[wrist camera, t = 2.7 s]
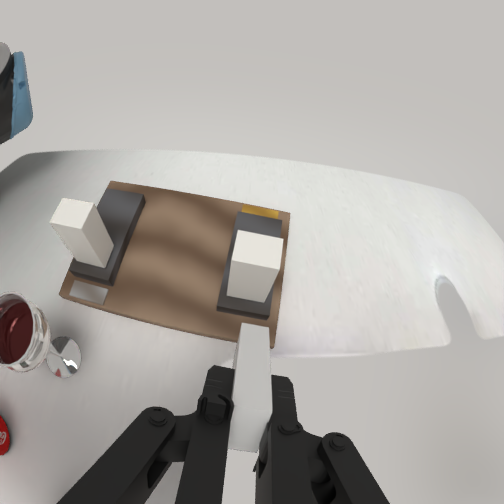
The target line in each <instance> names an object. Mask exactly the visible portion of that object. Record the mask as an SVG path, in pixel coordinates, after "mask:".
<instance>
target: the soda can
mask: <svg viewBox="0 0 504 504" xmlns="http://www.w3.org/2000/svg"><path fill="white" fill-rule="evenodd" d="M9 444H10V439H9V432H8V429H7V426H6V423H5V422H4V420H3V419H2V417H1V416H0V455H4V454H5V453H6V452H7V451H8V448H9Z"/></svg>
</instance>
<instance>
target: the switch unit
mask: <svg viewBox="0 0 504 504" xmlns="http://www.w3.org/2000/svg"><path fill="white" fill-rule="evenodd" d="M97 211H98V213H99V215H100V217H101V219H102V221H103V224H104V226H105V228H106V230H107V232H108V234H109V236H110V238H111V240H112V242H113V244H114V247H113V249H112V252H111V254H110V257H109V260H108V262H107V265H106V267H105V268H102V267H98V266H94V265H90V264H86V263H83V262H79V261H76V259H75V258H74V257H73V260H72V262H71V264H70V267H69V269H68V272H67V274H66V277H65V279H64V282H63V285H62V287H61V290H60V293H59V295H60V296H61V297H62V298H64V299H67V300H70V301H74V302H77V303H80V304H83V305H86V306H89V307H93V308H96V309H99V310H103V311H106V312H110V313H113V314H116V315H120V316H124V317H127V318H131V319H135V320H138V321H142V322H146V323H150V324H154V325H158V326H162V327H166V328H170V329H175V330H179V331H183V332H188V333H192V334H197V335H201V336H206V337H211V338H216V339H221V340H226V341H231V342H236V343H238V338H239V333H240V329H241V324H242V323H247V324H252V325H258V326H263V327H269V340H270V349H272V348H273V347H274V344H275V336H276V329H277V322H278V314H279V306H280V299H281V291H282V282H283V274H284V266H285V257H286V248H287V240H288V230H289V221H290V213H288V212H283V211H279V210H274V209H269V208H264V207H259V206H254V205H249V204H244V203H239V202H234V201H229V200H223V199H218V198H213V197H207V196H202V195H196V194H190V193H185V192H179V191H173V190H167V189H161V188H155V187H149V186H142V185H136V184H129V183H123V182H116V181H110V183H109V185H108V187H107V189H106V190H105V192H104V194H103V196H102V198H101V200H100V202H99V204H98V206H97ZM238 230H242V231H247V232H252V233H257V234H262V235H267V236H272V237H276V238H281V239H283V247H282V256H281V264H280V270H279V272H278V274H277V277H276V279H275V281H274V283H273V285H272V287H271V289H270V292H269V294H268V296H267V298H266V300H265V302H264V303H263V302H257V301H252V300H247V299H242V298H236V297H231V296H227V289H228V281H229V274H230V267H231V260H232V255H233V250H234V246H235V241H236V237H237V232H238Z"/></svg>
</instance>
